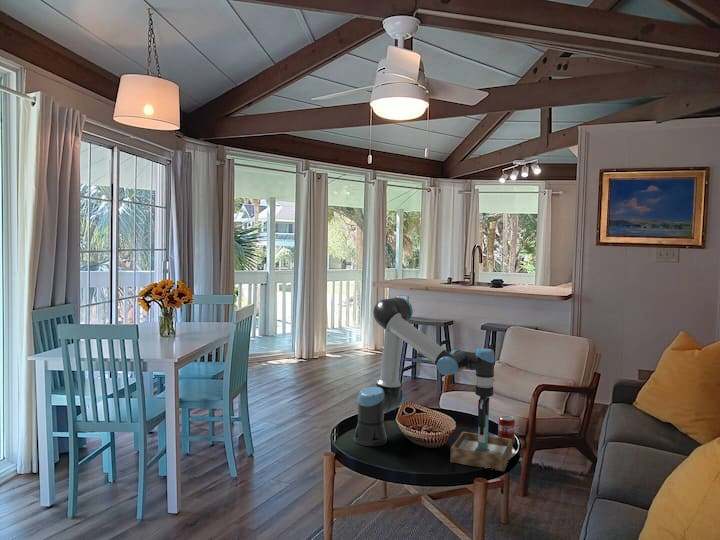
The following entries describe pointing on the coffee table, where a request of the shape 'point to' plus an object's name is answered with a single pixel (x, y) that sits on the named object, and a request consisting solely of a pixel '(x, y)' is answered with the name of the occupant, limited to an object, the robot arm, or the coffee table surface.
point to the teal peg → (481, 444)
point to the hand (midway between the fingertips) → (482, 440)
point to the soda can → (506, 427)
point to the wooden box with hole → (481, 451)
